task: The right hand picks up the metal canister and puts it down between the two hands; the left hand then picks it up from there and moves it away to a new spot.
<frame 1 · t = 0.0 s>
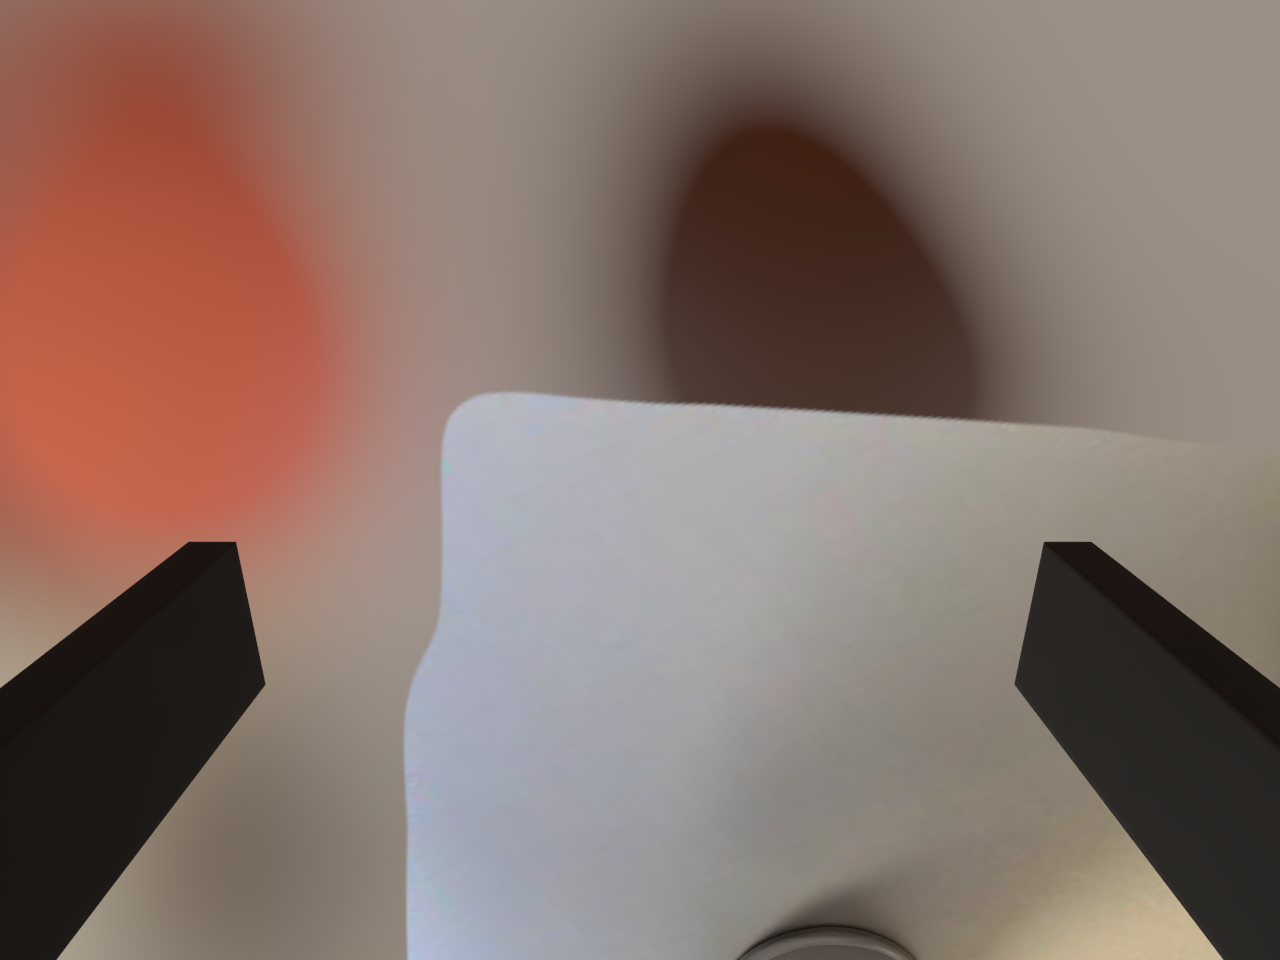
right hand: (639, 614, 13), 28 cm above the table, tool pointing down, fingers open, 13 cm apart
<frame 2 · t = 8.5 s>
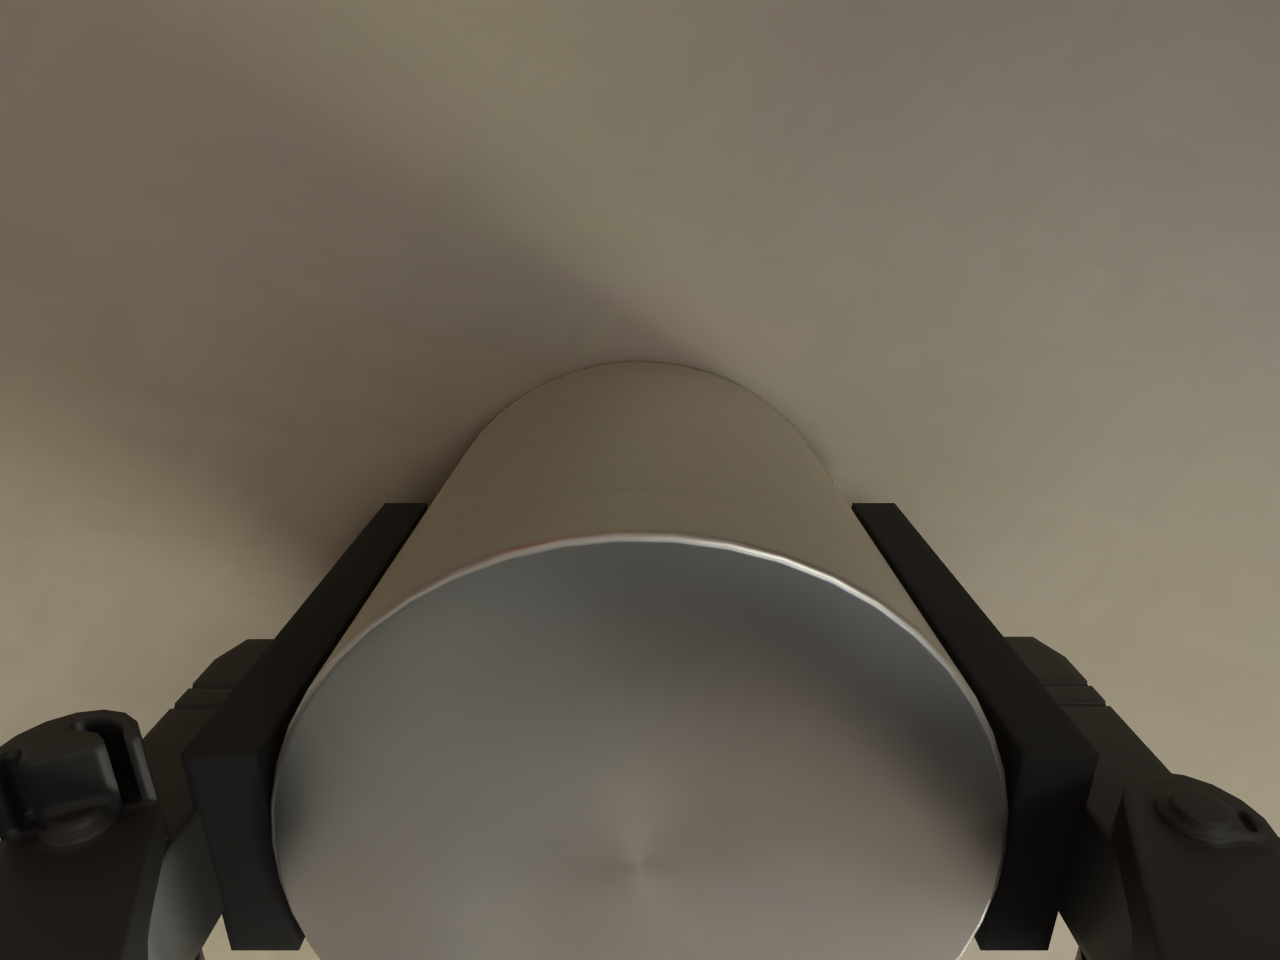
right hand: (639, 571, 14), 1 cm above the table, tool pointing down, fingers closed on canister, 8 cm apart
canister: (639, 557, 15), on the table, touching right hand
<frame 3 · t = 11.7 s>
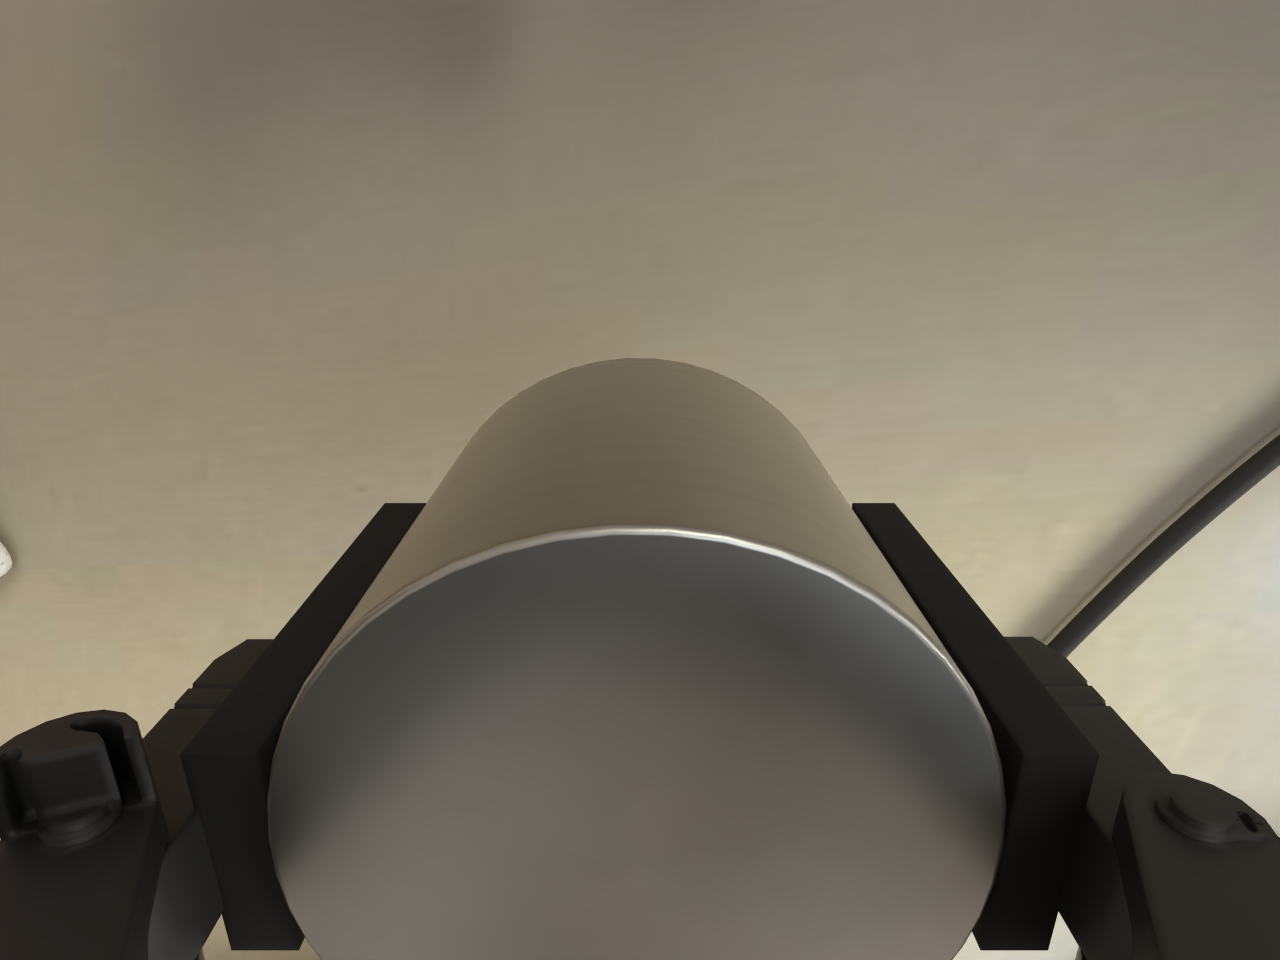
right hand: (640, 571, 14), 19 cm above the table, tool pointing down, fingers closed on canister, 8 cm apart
canister: (638, 554, 15), point 19 cm above the table, touching right hand
when the right hand's fingers open (2 cm above the table, at t = 15.1 s): canister drops 1 cm, on the table.
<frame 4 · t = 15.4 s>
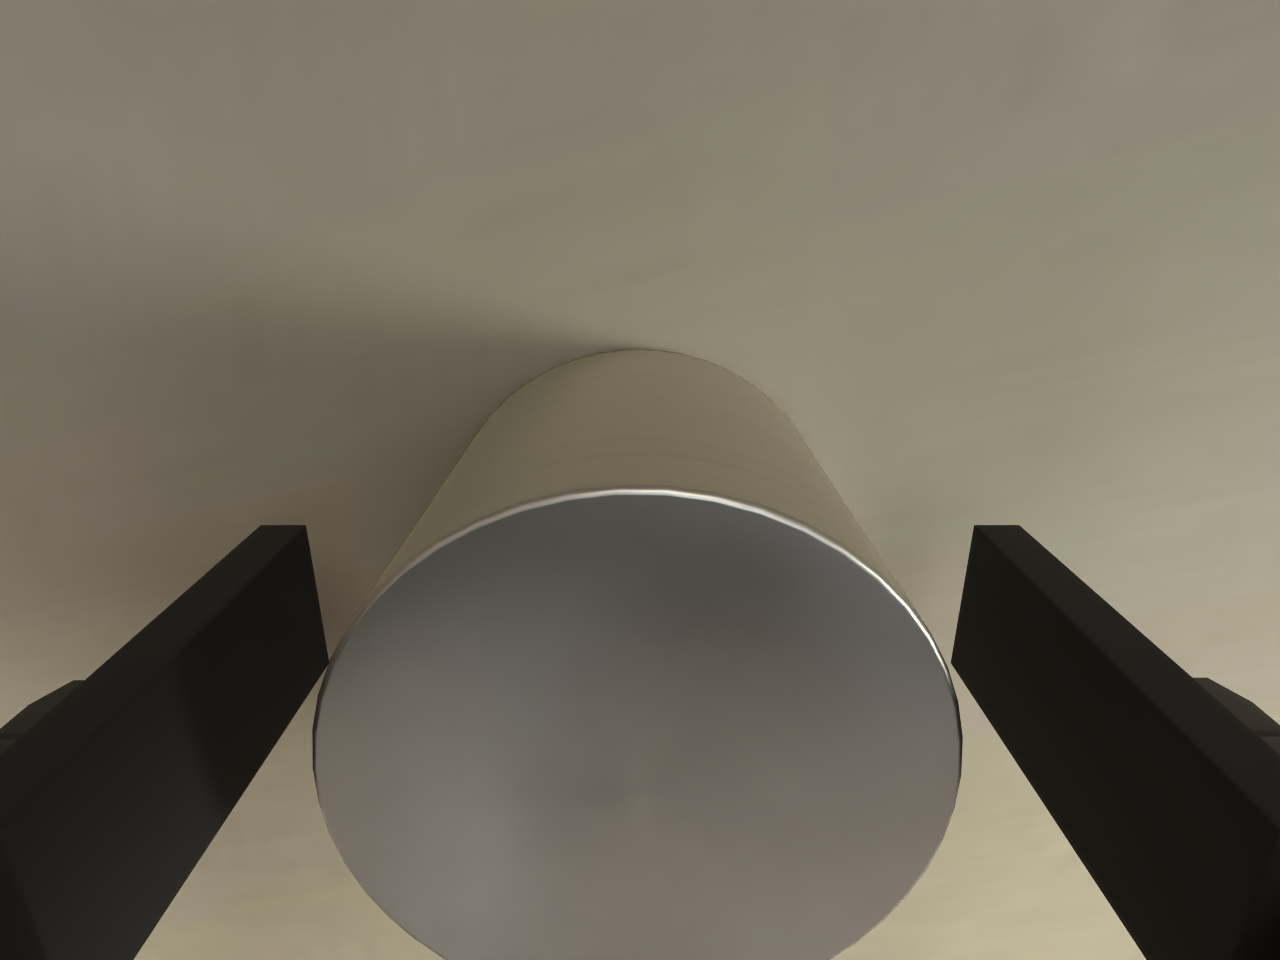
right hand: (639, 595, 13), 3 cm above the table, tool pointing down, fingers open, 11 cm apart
canister: (638, 533, 16), on the table
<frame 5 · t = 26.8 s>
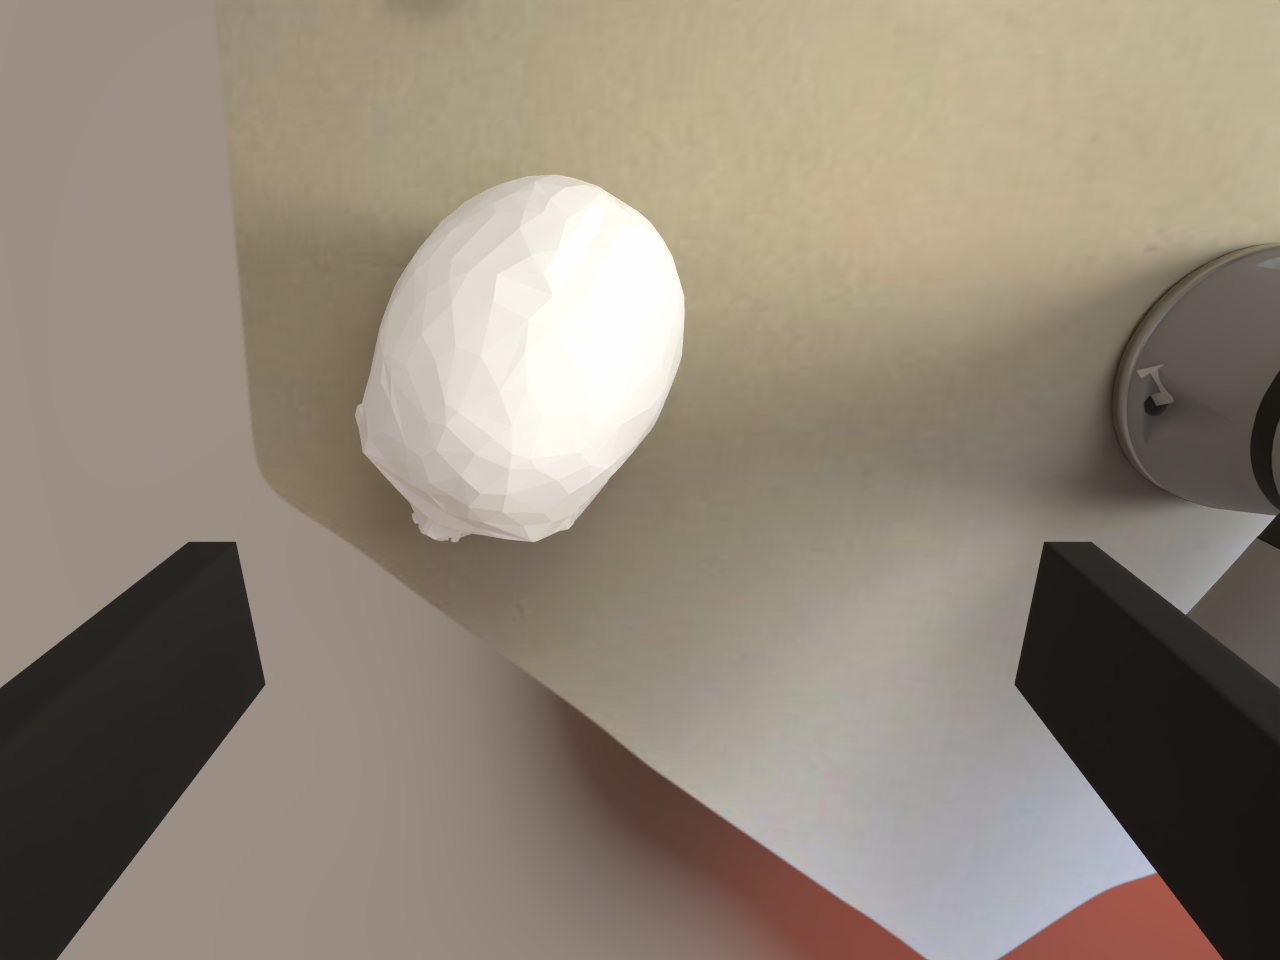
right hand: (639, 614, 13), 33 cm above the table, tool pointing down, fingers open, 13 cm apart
skull: (527, 367, 45), on the table
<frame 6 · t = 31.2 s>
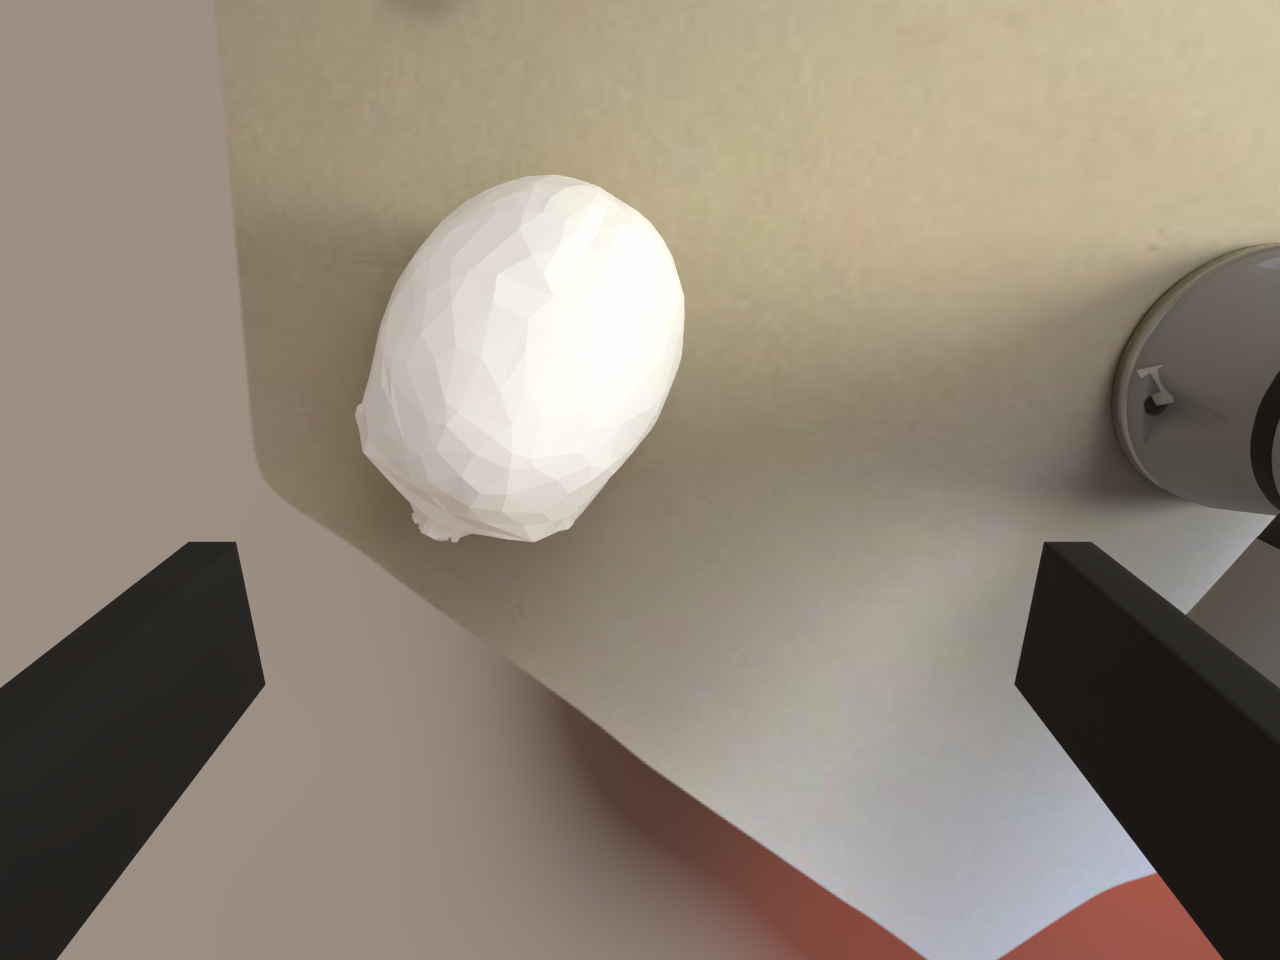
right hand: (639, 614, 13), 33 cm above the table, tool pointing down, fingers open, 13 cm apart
skull: (527, 367, 45), on the table
when the left hand's fingers open (2 cm above the table, at t = 35.5 s): canister drops 1 cm, on the table.
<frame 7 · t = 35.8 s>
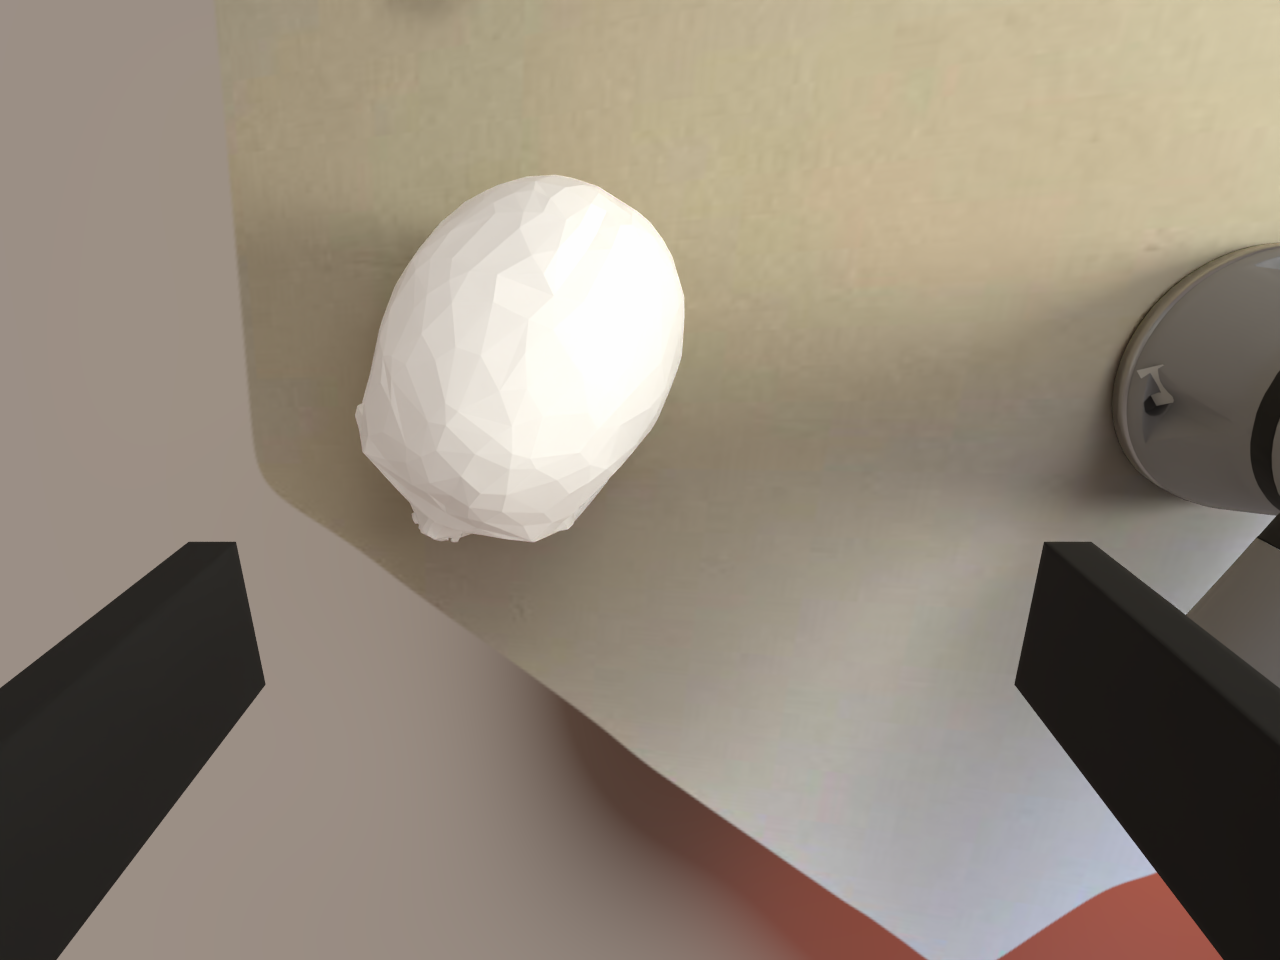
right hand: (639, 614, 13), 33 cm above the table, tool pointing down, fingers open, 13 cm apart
skull: (527, 367, 45), on the table
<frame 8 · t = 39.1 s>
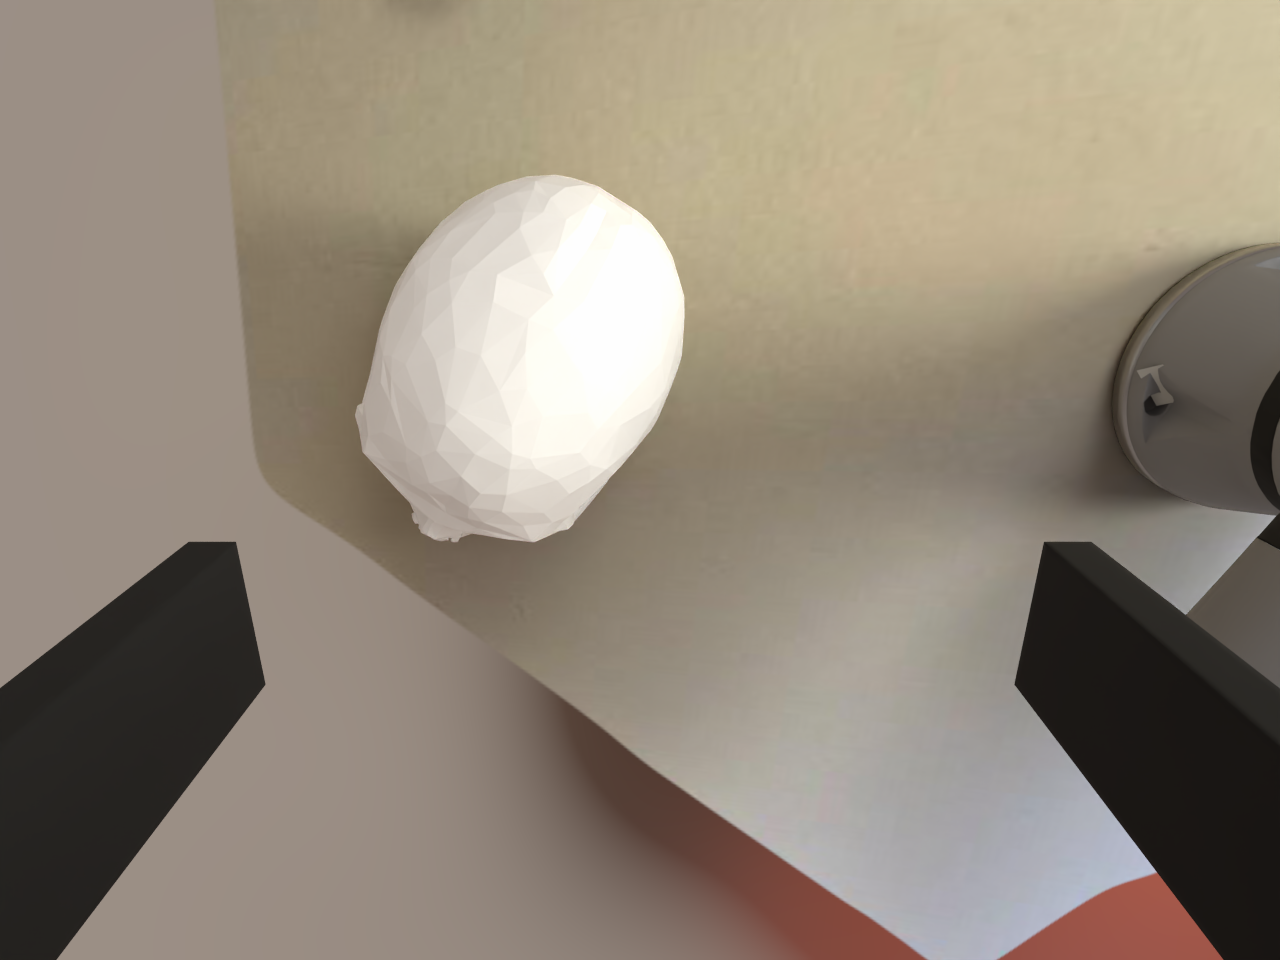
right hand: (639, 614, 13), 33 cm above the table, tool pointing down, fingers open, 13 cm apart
skull: (527, 367, 45), on the table
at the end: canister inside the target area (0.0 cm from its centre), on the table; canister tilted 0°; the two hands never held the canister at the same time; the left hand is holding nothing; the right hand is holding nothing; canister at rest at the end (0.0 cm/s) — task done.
